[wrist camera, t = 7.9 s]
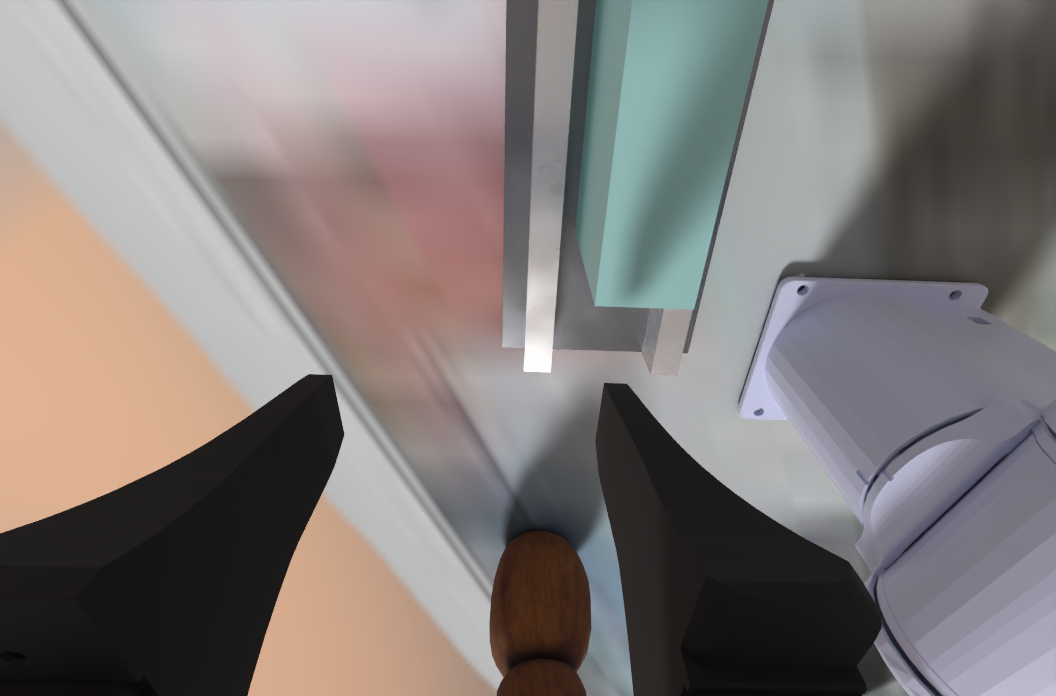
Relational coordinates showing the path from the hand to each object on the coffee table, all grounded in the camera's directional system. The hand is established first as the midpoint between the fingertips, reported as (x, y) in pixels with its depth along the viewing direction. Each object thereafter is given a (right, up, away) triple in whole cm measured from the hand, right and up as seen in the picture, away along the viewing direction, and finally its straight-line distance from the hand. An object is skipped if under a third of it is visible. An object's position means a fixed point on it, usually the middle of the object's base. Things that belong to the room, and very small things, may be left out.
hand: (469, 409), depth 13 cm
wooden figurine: (+2, -12, +20) cm, 23 cm away
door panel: (+5, +10, +5) cm, 13 cm away
